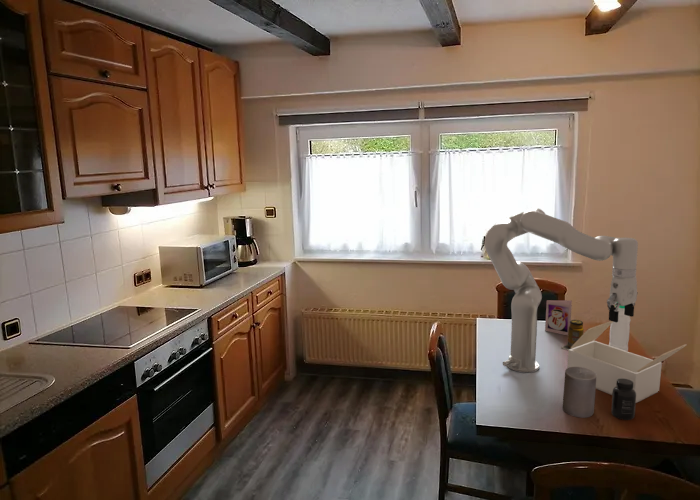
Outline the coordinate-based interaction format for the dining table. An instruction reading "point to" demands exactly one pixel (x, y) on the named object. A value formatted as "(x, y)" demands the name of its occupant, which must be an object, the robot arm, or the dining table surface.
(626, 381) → the supplement bottle
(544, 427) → the dining table surface
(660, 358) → the near flap
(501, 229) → the robot arm
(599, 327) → the far flap
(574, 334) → the condiment
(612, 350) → the carton
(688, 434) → the dining table surface
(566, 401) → the pillar candle
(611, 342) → the water bottle
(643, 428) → the dining table surface
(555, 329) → the greeting card
